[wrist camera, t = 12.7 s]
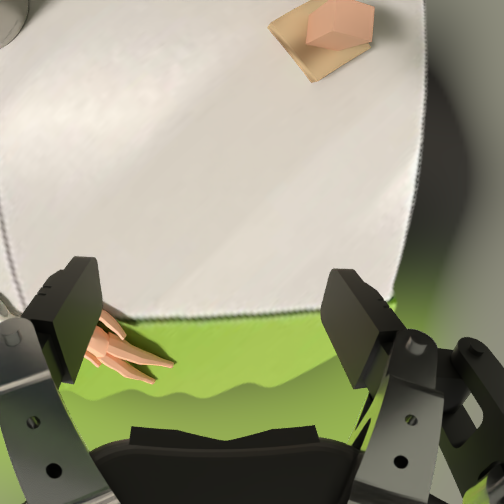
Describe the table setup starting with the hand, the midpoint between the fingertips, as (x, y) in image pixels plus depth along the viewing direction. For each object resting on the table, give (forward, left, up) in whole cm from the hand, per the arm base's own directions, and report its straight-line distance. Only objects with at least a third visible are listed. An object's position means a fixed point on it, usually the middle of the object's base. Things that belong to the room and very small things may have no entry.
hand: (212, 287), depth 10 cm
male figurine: (+9, -32, -31) cm, 46 cm away
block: (-4, +20, -28) cm, 34 cm away
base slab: (-4, +20, -31) cm, 37 cm away
